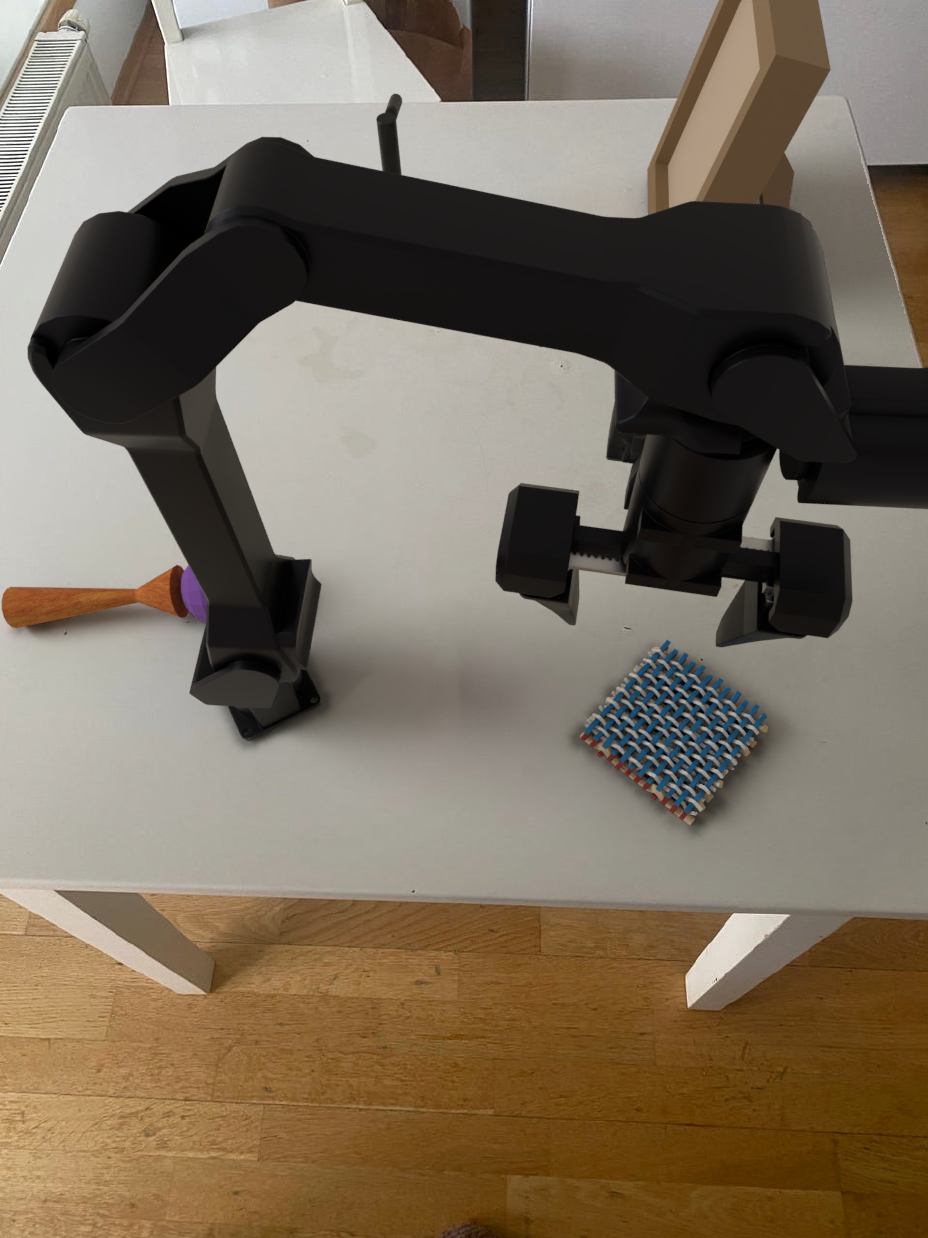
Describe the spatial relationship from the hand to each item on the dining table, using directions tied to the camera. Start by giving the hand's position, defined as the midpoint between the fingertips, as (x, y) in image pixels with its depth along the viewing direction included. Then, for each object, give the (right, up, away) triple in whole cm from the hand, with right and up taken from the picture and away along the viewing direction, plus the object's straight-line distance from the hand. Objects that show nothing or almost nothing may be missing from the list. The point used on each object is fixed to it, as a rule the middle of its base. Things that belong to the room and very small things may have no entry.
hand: (645, 629), depth 57 cm
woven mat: (+4, -8, +10) cm, 13 cm away
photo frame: (+15, +39, +36) cm, 55 cm away
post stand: (-18, +39, +37) cm, 57 cm away
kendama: (-38, +1, +17) cm, 41 cm away
